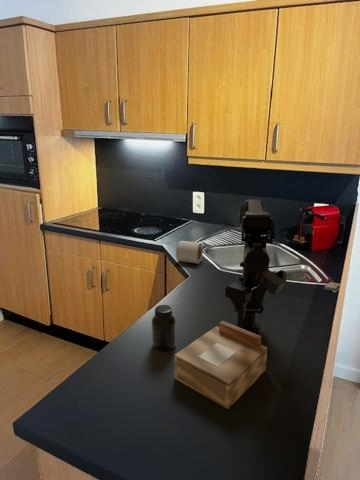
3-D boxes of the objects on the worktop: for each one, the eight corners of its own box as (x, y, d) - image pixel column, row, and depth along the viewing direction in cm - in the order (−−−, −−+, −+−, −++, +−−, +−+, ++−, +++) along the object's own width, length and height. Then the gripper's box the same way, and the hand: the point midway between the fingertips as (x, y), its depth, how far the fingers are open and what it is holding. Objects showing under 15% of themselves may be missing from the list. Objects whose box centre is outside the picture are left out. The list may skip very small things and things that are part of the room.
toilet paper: (202, 259, 175) (203, 240, 172) (195, 266, 166) (196, 246, 163) (183, 257, 178) (183, 238, 175) (176, 263, 169) (176, 243, 166)
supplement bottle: (163, 336, 109) (162, 300, 105) (180, 344, 104) (180, 307, 101) (147, 346, 103) (146, 309, 100) (164, 355, 99) (164, 316, 96)
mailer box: (215, 347, 103) (216, 329, 101) (265, 370, 93) (267, 350, 91) (174, 378, 90) (174, 357, 88) (227, 409, 80) (228, 386, 78)
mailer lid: (216, 328, 101) (216, 318, 100) (267, 349, 91) (268, 339, 90) (174, 356, 88) (174, 345, 87) (229, 385, 78) (229, 373, 77)
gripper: (264, 276, 82) (259, 336, 86) (298, 258, 96) (292, 310, 100) (224, 265, 89) (221, 321, 93) (261, 249, 103) (257, 299, 107)
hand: (250, 313), depth 98 cm, fingers open, 9 cm apart
